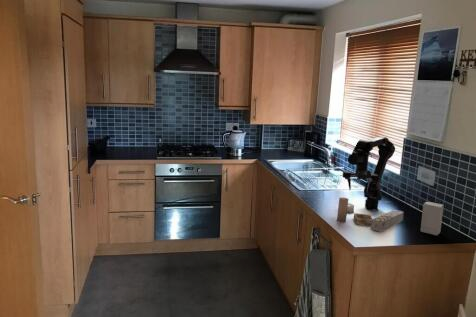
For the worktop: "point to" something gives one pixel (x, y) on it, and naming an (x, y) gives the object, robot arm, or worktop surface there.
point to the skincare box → (431, 218)
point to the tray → (362, 219)
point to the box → (387, 220)
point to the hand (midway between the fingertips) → (358, 191)
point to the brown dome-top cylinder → (342, 209)
